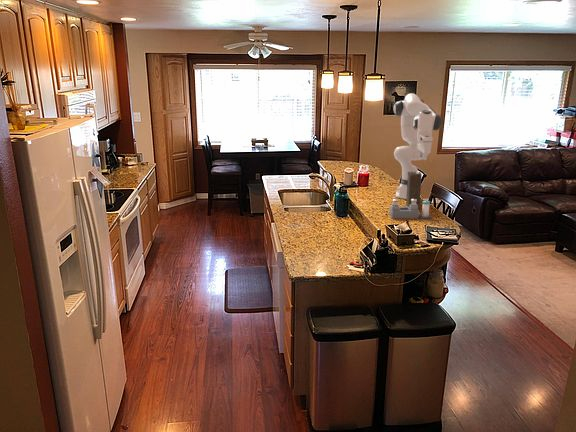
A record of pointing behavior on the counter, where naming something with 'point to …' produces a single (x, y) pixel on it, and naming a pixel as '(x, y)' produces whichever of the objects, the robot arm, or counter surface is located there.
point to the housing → (404, 212)
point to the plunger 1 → (395, 202)
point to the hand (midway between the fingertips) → (422, 158)
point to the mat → (424, 217)
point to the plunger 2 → (413, 202)
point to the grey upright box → (413, 188)
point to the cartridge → (425, 209)
